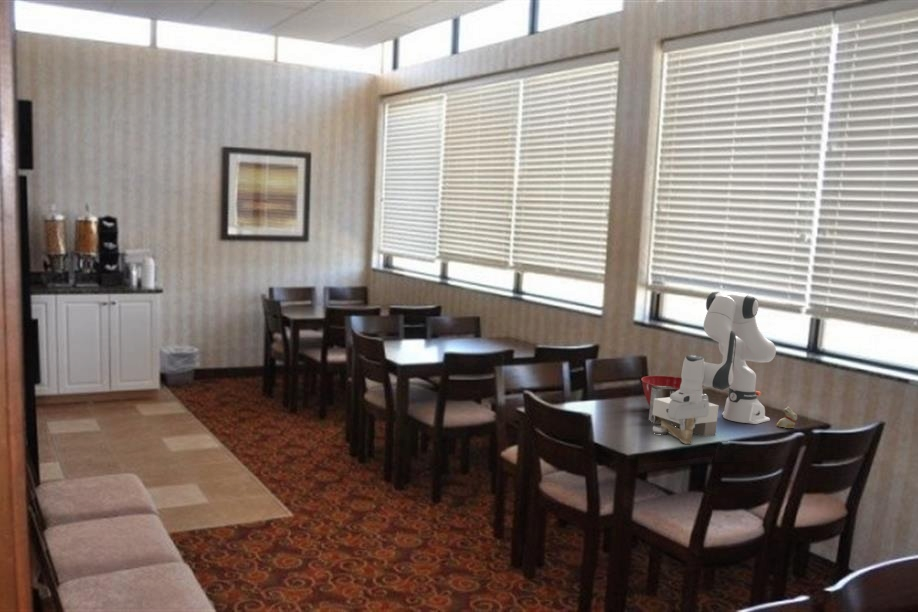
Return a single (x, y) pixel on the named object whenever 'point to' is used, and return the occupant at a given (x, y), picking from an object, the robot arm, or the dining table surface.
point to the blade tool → (681, 434)
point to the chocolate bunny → (788, 419)
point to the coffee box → (659, 393)
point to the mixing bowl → (659, 383)
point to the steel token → (660, 430)
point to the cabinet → (703, 424)
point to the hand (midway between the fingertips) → (687, 428)
